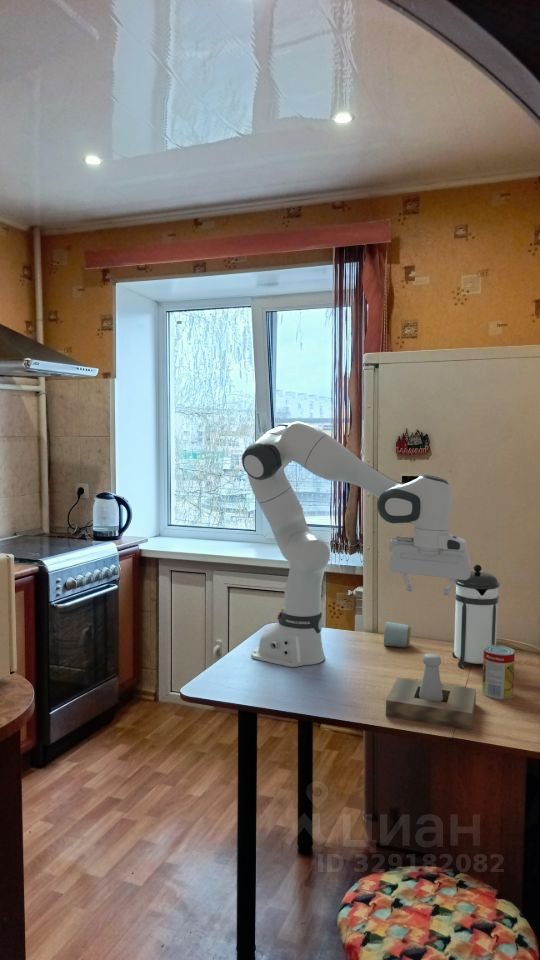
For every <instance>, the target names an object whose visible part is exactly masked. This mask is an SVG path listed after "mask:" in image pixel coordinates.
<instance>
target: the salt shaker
mask: <svg viewBox="0 0 540 960" xmlns="http://www.w3.org/2000/svg"><path fill="white" fill-rule="evenodd" d="M422 660H423V665H425V667H424V672H423V674H422V675H423V677H422V680H421V681H422V684H421V688H420V693H419V698H420V699H425V700H432V701H438V702H442V701H443V695H442V688H441V684H442V681H441V675H440V670H439V669H440V668H439V667H440V665H441V664H442V663H441V662H442V658H441V656H440V655H439V654H436V653H431V652H430V653H426V654H424V655H423V657H422Z"/></svg>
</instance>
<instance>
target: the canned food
mask: <svg viewBox="0 0 540 960" xmlns="http://www.w3.org/2000/svg"><path fill="white" fill-rule="evenodd" d="M515 654H516V653H515V650H514V649H513V648H511V647H509V646H507V645H506V646H505V645H501V644H496V645H488V646H485V647H484V650H483V664H482V678H481V679H482V680H481V681H482V682H481V683H482V684H481V693H482V694H483V696H485V697H487V698H490V699H495V700H511V699H512V698H513V697H514V680H515V657H516V656H515Z"/></svg>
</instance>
